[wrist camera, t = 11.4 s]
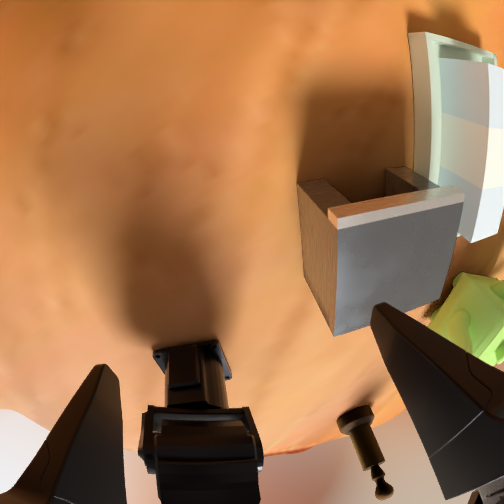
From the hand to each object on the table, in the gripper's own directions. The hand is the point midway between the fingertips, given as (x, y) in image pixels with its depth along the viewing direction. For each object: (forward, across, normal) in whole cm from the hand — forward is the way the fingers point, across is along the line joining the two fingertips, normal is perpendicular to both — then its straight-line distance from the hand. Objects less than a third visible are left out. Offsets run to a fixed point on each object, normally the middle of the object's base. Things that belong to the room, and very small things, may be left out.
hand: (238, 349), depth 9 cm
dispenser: (+12, -10, +4) cm, 16 cm away
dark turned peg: (+12, -14, +43) cm, 47 cm away
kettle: (+12, -27, +18) cm, 35 cm away
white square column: (+12, -20, -2) cm, 23 cm away
